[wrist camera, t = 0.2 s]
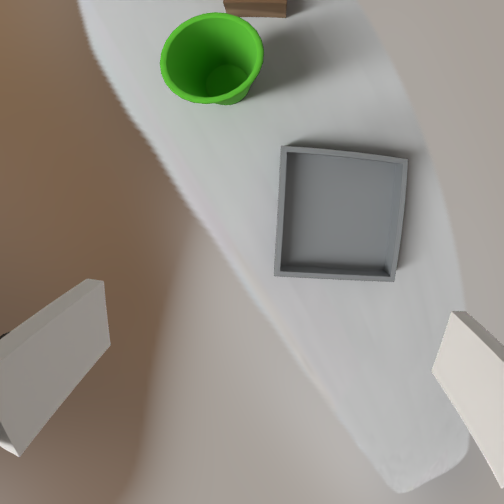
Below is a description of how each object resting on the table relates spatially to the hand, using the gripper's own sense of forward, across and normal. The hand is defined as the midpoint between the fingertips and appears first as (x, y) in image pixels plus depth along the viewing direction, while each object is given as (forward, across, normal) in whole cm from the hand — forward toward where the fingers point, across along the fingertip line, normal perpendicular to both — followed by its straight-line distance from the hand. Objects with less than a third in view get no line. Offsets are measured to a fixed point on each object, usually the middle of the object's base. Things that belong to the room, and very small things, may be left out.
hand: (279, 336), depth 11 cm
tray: (+28, +7, +1) cm, 29 cm away
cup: (+28, -7, +15) cm, 32 cm away
